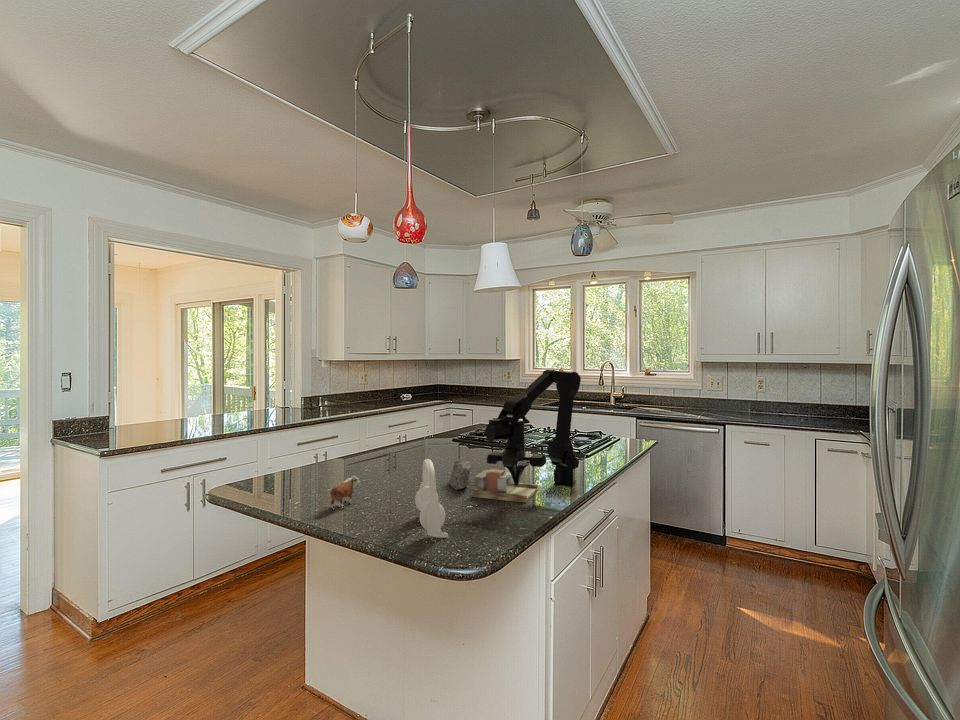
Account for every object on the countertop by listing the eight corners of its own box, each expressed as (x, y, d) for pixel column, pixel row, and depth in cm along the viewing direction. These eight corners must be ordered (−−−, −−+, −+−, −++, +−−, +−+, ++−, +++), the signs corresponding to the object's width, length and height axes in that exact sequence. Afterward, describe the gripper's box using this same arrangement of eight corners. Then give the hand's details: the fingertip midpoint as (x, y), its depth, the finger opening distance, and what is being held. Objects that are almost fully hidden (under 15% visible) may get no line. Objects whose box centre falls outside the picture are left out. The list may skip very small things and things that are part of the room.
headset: (414, 515, 145) (413, 454, 145) (438, 513, 147) (437, 452, 146) (420, 541, 126) (419, 470, 125) (448, 538, 127) (447, 468, 127)
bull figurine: (363, 499, 160) (362, 474, 160) (338, 513, 148) (337, 485, 148) (351, 498, 162) (350, 473, 162) (325, 511, 149) (325, 484, 149)
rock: (470, 491, 167) (471, 462, 168) (446, 490, 167) (447, 461, 168) (472, 486, 182) (473, 459, 183) (450, 486, 182) (451, 459, 183)
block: (491, 486, 170) (491, 469, 170) (505, 488, 168) (505, 470, 168) (486, 490, 165) (485, 472, 165) (500, 492, 163) (500, 474, 163)
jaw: (515, 486, 169) (515, 472, 169) (506, 495, 160) (506, 479, 160) (507, 486, 170) (507, 471, 170) (497, 494, 161) (497, 479, 161)
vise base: (537, 490, 168) (537, 472, 168) (526, 502, 155) (525, 483, 155) (487, 485, 175) (487, 468, 175) (472, 496, 162) (472, 478, 162)
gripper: (480, 441, 159) (481, 489, 159) (537, 443, 152) (538, 494, 153) (492, 435, 170) (493, 480, 170) (545, 437, 163) (546, 485, 163)
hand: (516, 485), depth 164 cm, fingers closed
